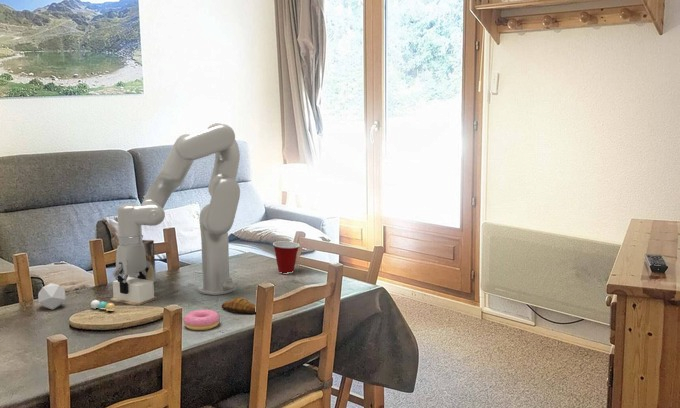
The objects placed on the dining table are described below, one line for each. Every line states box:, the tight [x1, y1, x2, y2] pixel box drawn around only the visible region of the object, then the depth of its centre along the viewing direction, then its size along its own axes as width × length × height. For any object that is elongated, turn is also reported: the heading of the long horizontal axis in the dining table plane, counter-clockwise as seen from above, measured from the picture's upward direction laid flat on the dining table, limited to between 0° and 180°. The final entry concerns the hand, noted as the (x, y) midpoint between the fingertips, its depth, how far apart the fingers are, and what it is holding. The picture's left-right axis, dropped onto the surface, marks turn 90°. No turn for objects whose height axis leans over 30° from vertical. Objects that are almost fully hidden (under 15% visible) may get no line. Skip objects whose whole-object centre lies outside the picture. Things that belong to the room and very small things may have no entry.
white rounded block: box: [112, 276, 155, 303], centre depth 229 cm, size 12×7×6 cm, turn 62°
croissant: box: [221, 296, 256, 314], centre depth 216 cm, size 14×7×5 cm, turn 65°
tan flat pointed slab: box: [109, 296, 158, 306], centre depth 229 cm, size 13×9×1 cm
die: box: [37, 282, 66, 311], centre depth 220 cm, size 8×9×10 cm
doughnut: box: [183, 309, 221, 331], centre depth 202 cm, size 11×11×4 cm
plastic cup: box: [272, 240, 301, 273], centre depth 264 cm, size 11×11×12 cm
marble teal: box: [98, 300, 108, 309], centre depth 217 cm, size 3×3×3 cm
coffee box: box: [128, 239, 157, 283], centre depth 247 cm, size 9×6×16 cm
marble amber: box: [105, 302, 116, 309], centre depth 216 cm, size 3×3×3 cm
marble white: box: [90, 299, 101, 310], centre depth 219 cm, size 3×3×3 cm
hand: (133, 290), depth 229 cm, fingers open, 7 cm apart
